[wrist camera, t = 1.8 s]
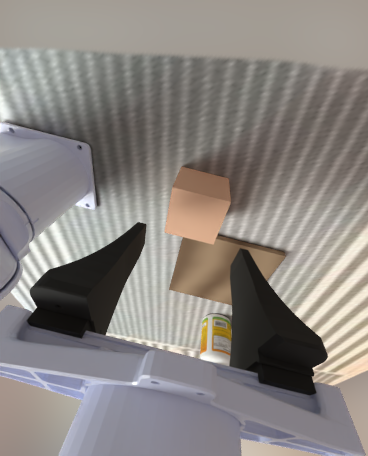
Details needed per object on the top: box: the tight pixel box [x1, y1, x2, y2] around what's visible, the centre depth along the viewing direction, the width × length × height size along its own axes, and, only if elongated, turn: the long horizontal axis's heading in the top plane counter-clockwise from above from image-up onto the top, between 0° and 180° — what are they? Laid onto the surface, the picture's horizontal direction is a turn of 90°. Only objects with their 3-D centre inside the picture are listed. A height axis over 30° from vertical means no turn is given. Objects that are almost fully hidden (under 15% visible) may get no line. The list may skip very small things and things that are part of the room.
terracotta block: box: [165, 167, 231, 244], centre depth 19 cm, size 5×5×5 cm
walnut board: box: [169, 235, 286, 305], centre depth 28 cm, size 13×13×1 cm
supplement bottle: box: [200, 314, 231, 366], centre depth 33 cm, size 5×5×10 cm
